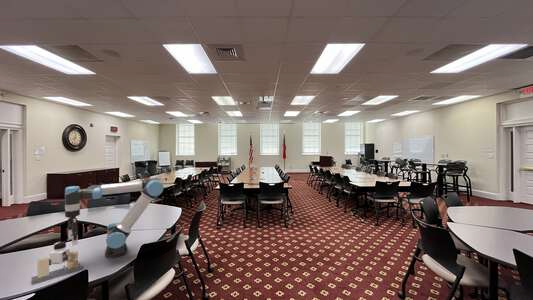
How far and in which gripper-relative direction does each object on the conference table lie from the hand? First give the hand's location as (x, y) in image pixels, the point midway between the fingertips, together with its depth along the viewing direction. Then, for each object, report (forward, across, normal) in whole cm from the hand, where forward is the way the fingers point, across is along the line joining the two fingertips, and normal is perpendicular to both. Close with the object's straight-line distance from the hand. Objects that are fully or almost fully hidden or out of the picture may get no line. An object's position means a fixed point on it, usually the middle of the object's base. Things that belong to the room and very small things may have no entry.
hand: (72, 241), depth 153 cm
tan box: (+17, 0, 0) cm, 17 cm away
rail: (+19, 0, +7) cm, 20 cm away
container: (+19, +23, +4) cm, 30 cm away
